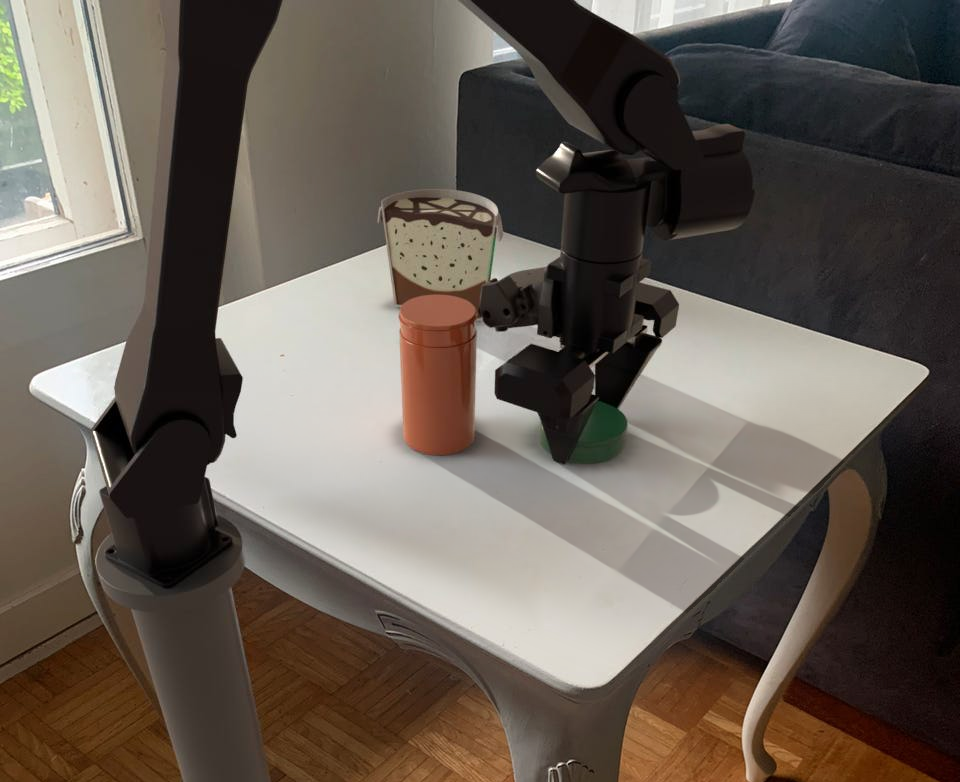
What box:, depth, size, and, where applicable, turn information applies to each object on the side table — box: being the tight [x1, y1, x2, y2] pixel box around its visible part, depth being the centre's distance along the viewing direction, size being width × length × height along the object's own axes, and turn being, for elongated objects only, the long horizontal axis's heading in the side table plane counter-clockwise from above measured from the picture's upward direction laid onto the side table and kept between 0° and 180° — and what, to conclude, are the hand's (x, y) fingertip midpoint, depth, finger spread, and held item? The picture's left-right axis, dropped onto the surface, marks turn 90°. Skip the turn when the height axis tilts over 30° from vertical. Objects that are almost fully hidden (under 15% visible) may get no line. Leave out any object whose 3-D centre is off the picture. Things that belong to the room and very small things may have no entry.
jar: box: [397, 295, 478, 456], centre depth 73 cm, size 6×6×11 cm
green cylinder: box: [539, 401, 628, 464], centre depth 76 cm, size 7×7×2 cm
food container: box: [376, 188, 504, 323], centre depth 93 cm, size 12×6×10 cm, turn 71°
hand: (581, 442), depth 77 cm, fingers closed on green cylinder, 7 cm apart
